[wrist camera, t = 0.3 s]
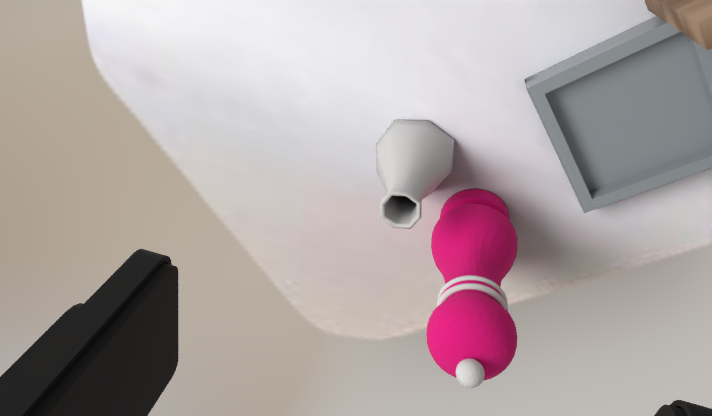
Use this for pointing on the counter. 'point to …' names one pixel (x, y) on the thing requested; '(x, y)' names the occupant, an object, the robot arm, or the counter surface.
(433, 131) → the flask
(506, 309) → the pepper mill
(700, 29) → the walnut board
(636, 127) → the slate dish
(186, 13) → the counter surface
